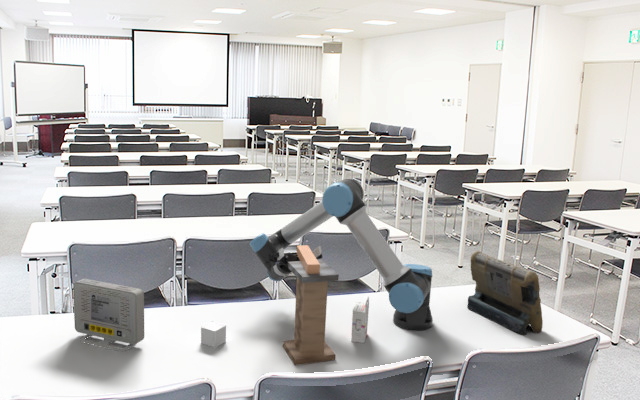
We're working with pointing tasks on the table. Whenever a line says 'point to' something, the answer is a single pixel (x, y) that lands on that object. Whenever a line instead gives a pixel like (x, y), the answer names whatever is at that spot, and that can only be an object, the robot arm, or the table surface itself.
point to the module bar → (308, 259)
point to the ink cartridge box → (360, 322)
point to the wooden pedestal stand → (310, 315)
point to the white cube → (213, 334)
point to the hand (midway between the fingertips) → (301, 250)
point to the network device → (109, 313)
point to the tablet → (505, 294)
